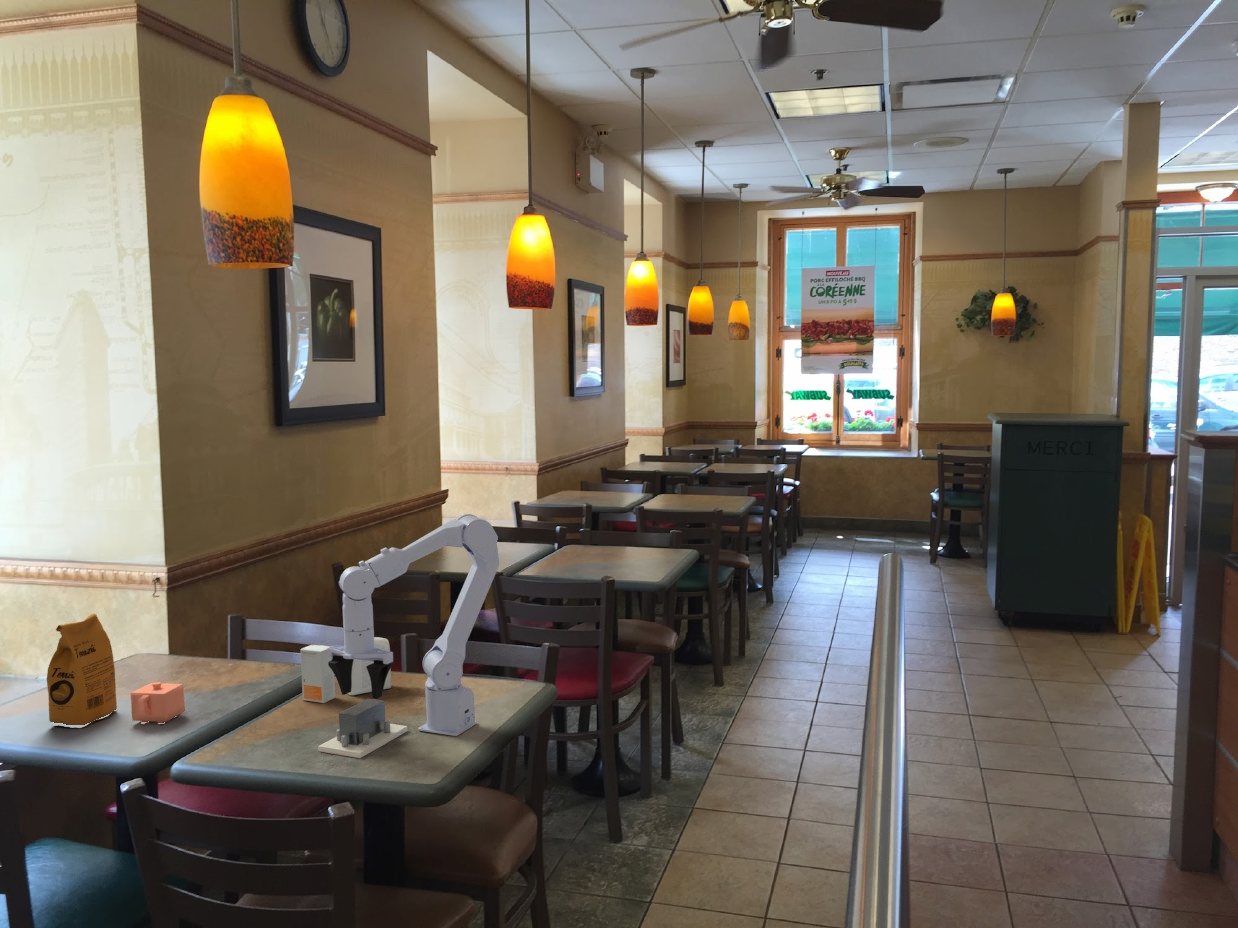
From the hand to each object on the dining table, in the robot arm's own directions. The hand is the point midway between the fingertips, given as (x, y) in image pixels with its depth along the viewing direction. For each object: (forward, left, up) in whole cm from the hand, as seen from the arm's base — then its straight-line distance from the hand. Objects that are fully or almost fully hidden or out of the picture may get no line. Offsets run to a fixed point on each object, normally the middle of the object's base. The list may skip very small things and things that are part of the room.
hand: (362, 695), depth 190 cm
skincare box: (+26, -17, -10) cm, 32 cm away
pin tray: (0, 0, -9) cm, 9 cm away
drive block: (0, 0, -8) cm, 8 cm away
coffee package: (+66, +11, -10) cm, 68 cm away
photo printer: (+19, -26, -10) cm, 34 cm away
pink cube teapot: (+50, +5, -10) cm, 51 cm away
